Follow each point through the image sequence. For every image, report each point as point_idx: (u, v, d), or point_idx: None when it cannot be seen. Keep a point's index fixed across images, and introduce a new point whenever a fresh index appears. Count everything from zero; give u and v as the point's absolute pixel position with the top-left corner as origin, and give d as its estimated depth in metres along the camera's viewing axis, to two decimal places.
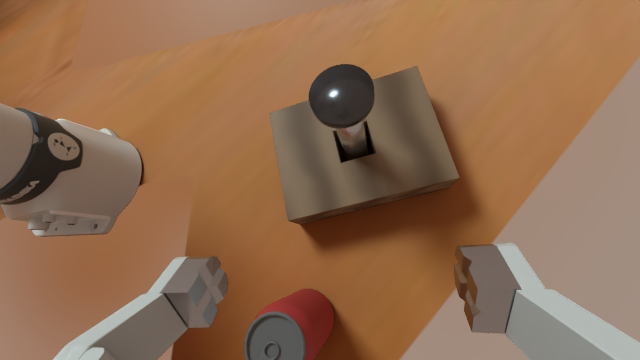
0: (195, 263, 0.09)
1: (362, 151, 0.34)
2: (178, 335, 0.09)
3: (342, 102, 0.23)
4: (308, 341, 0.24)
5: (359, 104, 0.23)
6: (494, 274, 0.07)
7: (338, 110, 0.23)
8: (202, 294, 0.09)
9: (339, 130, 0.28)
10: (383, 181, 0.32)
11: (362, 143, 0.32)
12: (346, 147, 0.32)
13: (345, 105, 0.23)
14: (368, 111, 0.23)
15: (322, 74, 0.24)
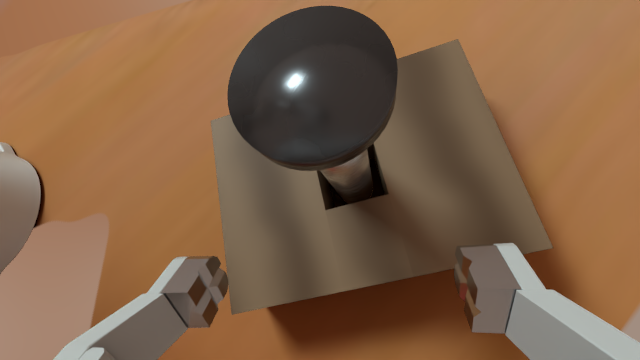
0: (195, 263, 0.09)
1: (363, 189, 0.19)
2: (178, 335, 0.09)
3: (310, 102, 0.09)
4: None
5: (356, 108, 0.08)
6: (494, 274, 0.07)
7: (298, 125, 0.08)
8: (202, 294, 0.09)
9: None
10: (403, 248, 0.17)
11: (364, 178, 0.17)
12: (334, 185, 0.17)
13: (318, 111, 0.08)
14: (380, 128, 0.08)
15: (264, 33, 0.10)
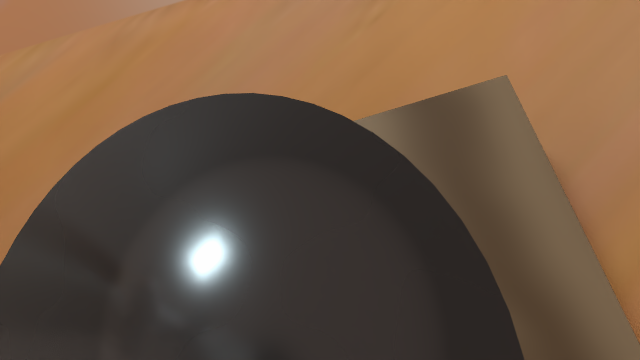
0: None
1: None
2: None
3: None
4: None
5: None
6: None
7: None
8: None
9: None
10: None
11: None
12: None
13: None
14: None
15: (94, 164, 0.03)
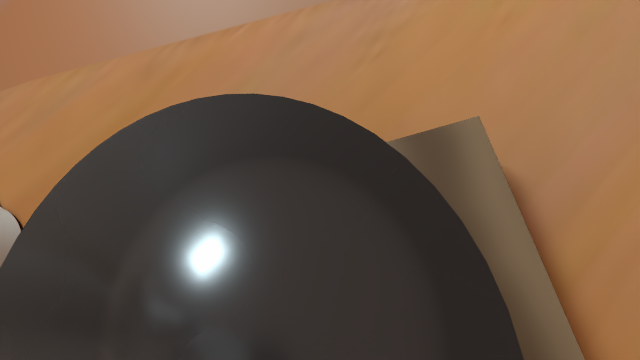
0: None
1: None
2: None
3: None
4: None
5: None
6: None
7: None
8: None
9: None
10: None
11: None
12: None
13: None
14: None
15: (94, 164, 0.03)
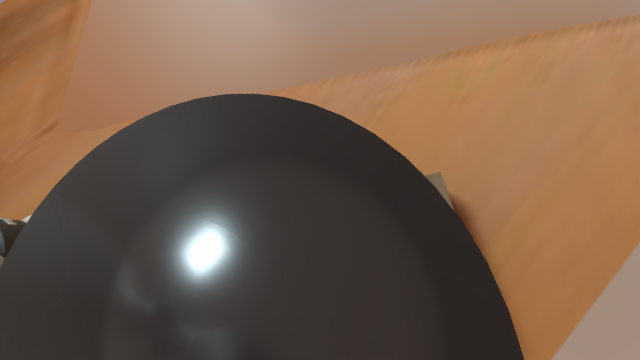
0: None
1: None
2: None
3: None
4: None
5: None
6: None
7: None
8: None
9: None
10: None
11: None
12: None
13: None
14: None
15: (94, 164, 0.03)
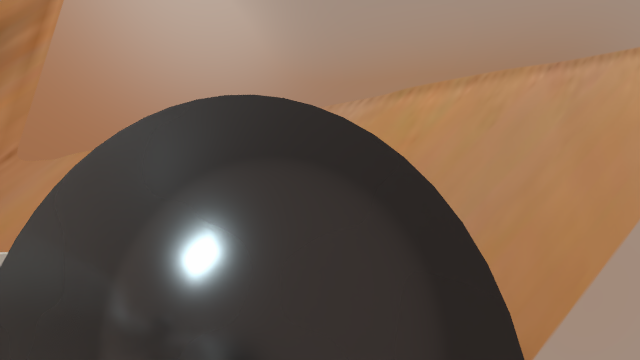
0: None
1: None
2: None
3: None
4: None
5: None
6: None
7: None
8: None
9: None
10: None
11: None
12: None
13: None
14: None
15: (93, 166, 0.03)
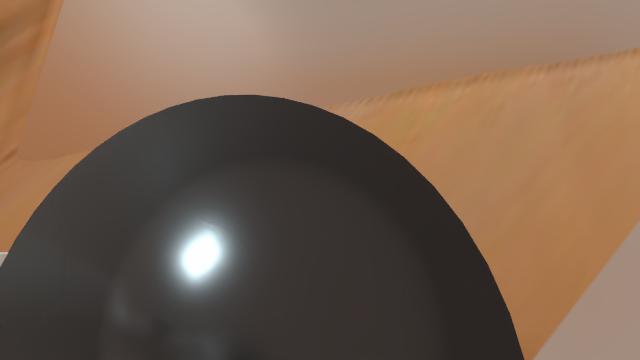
0: None
1: None
2: None
3: None
4: None
5: None
6: None
7: None
8: None
9: None
10: None
11: None
12: None
13: None
14: None
15: (93, 166, 0.03)
